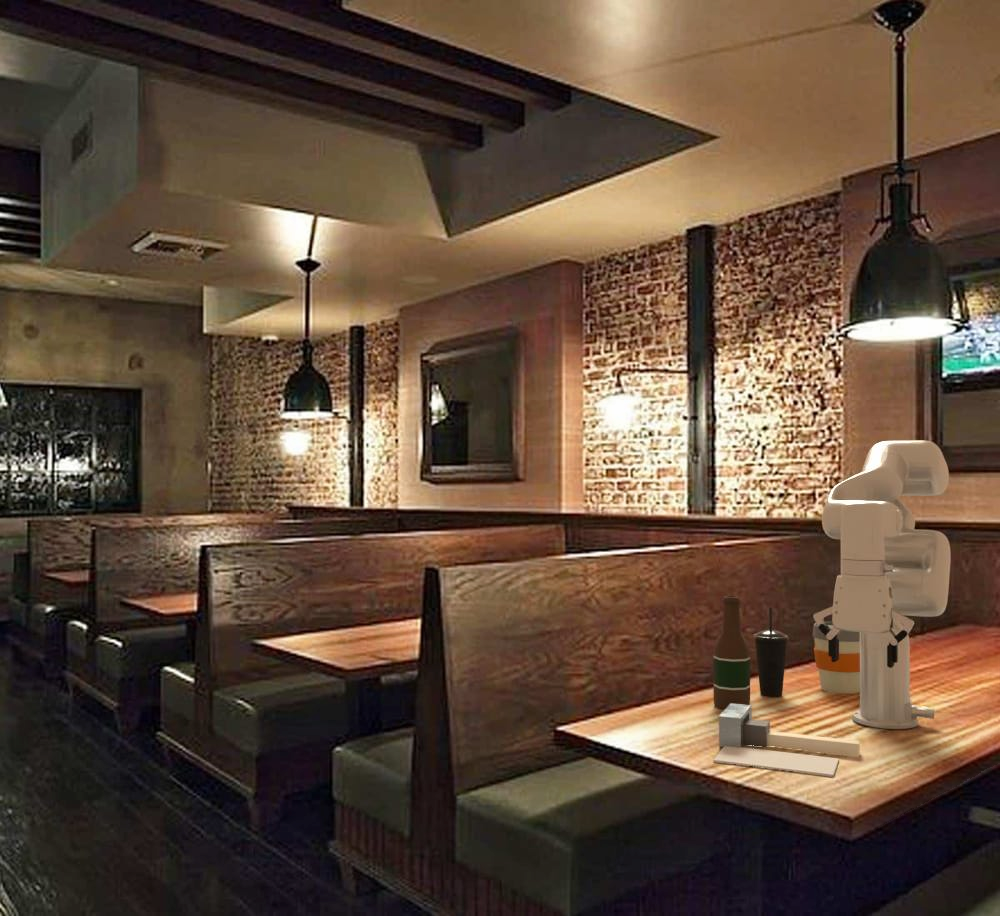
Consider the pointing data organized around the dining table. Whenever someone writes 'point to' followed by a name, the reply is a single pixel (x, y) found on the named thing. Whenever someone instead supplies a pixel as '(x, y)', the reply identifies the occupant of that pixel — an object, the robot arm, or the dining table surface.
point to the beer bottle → (731, 659)
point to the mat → (778, 760)
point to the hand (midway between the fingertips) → (862, 663)
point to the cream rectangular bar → (796, 740)
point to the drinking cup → (771, 660)
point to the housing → (733, 724)
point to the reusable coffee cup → (838, 662)
